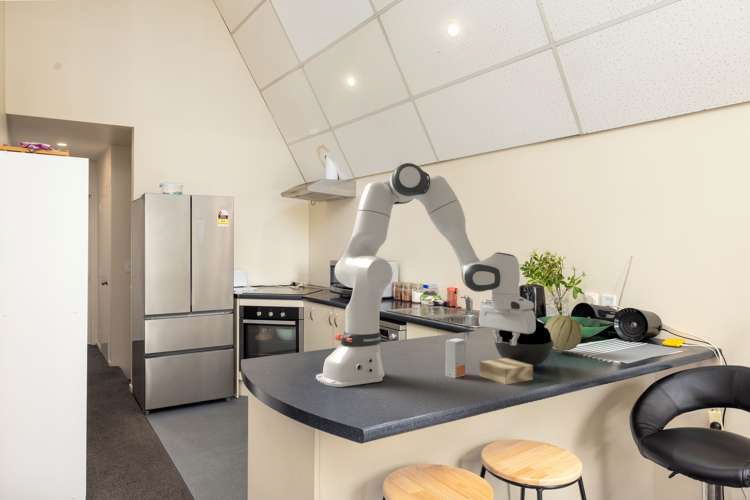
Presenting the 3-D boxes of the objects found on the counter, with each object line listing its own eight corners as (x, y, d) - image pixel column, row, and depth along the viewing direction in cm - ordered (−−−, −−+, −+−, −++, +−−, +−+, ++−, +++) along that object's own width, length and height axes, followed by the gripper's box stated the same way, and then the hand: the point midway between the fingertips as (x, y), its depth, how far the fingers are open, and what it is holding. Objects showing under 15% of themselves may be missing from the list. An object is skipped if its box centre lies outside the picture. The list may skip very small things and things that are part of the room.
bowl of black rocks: (513, 376, 160) (513, 319, 160) (484, 362, 180) (484, 312, 180) (565, 372, 166) (565, 317, 166) (531, 359, 185) (531, 310, 185)
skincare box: (455, 378, 158) (455, 342, 158) (444, 376, 161) (444, 340, 161) (466, 375, 162) (466, 339, 162) (455, 372, 165) (455, 337, 165)
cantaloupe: (536, 348, 205) (536, 313, 205) (562, 345, 211) (562, 311, 211) (563, 355, 192) (563, 317, 192) (589, 351, 198) (589, 315, 198)
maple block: (505, 385, 151) (505, 369, 151) (479, 376, 162) (479, 361, 162) (532, 380, 157) (532, 365, 157) (506, 372, 167) (506, 357, 167)
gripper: (474, 300, 165) (474, 340, 165) (526, 305, 149) (527, 350, 149) (486, 298, 169) (486, 338, 169) (538, 303, 153) (538, 347, 153)
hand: (505, 343), depth 159 cm, fingers open, 4 cm apart
